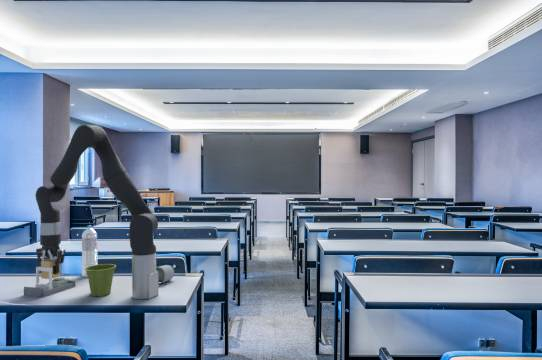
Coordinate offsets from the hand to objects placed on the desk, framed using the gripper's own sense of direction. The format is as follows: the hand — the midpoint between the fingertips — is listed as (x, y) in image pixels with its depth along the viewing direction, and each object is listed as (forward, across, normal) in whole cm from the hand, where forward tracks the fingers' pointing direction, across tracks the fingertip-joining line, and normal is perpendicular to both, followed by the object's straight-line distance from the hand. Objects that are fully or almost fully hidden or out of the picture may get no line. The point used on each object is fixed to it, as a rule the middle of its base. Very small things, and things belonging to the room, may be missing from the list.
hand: (50, 273), depth 157 cm
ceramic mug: (+8, +35, +27) cm, 45 cm away
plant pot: (+8, +22, +4) cm, 24 cm away
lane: (+8, 0, 0) cm, 8 cm away
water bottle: (+8, -4, +25) cm, 26 cm away
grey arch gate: (+7, 0, -3) cm, 8 cm away
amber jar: (+2, 0, 0) cm, 2 cm away
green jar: (+7, 0, +4) cm, 8 cm away
